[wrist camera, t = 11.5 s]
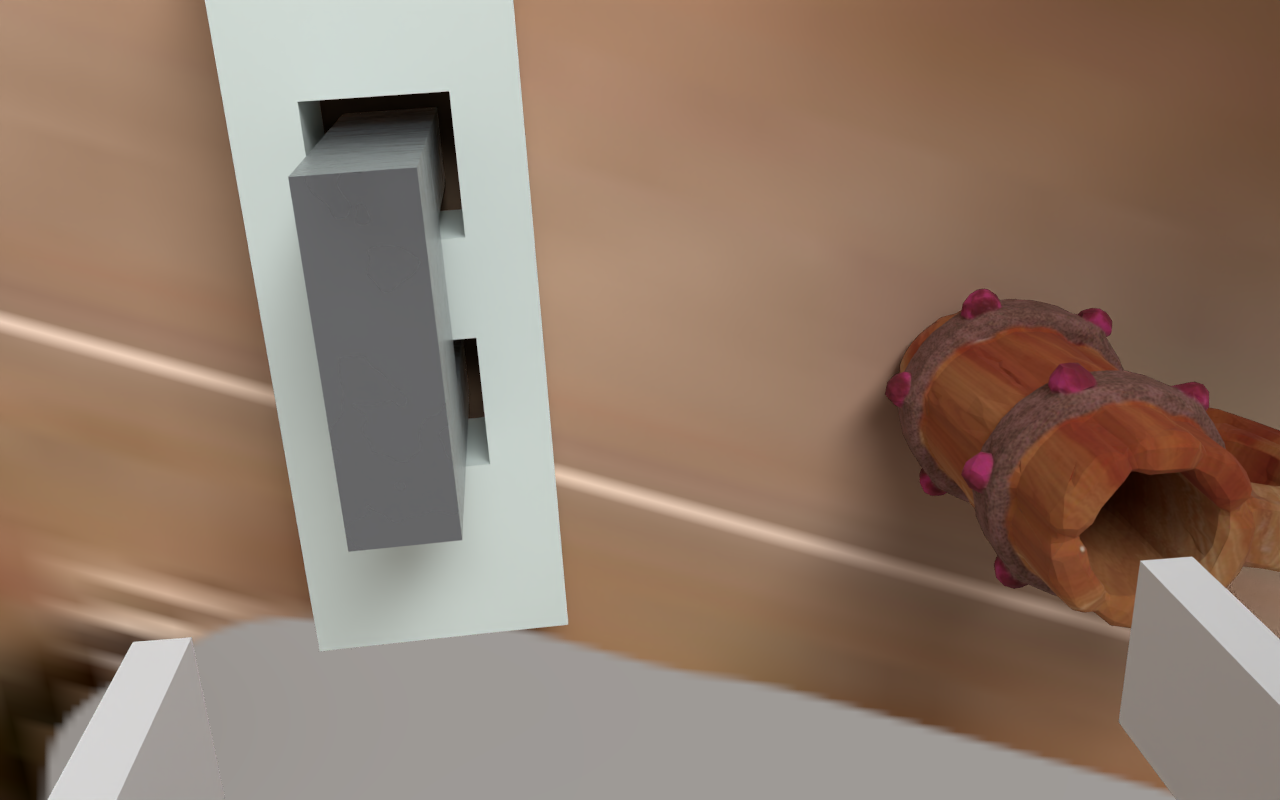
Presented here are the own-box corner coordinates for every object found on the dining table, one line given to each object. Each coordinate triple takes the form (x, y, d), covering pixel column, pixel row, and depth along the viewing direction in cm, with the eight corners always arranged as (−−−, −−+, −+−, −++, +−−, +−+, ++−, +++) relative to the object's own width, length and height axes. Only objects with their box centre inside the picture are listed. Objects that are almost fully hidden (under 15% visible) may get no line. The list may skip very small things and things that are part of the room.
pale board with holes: (214, -127, 38) (181, -135, 34) (498, -142, 39) (499, -151, 35) (334, 589, 48) (319, 651, 43) (561, 565, 48) (568, 624, 44)
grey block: (343, 113, 41) (288, 177, 30) (437, 107, 42) (416, 167, 30) (383, 401, 45) (348, 551, 34) (469, 393, 45) (462, 540, 34)
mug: (840, 455, 48) (983, 664, 34) (888, 257, 45) (1064, 397, 31) (1172, 493, 50) (1431, 703, 37) (1236, 308, 48) (1543, 458, 34)
